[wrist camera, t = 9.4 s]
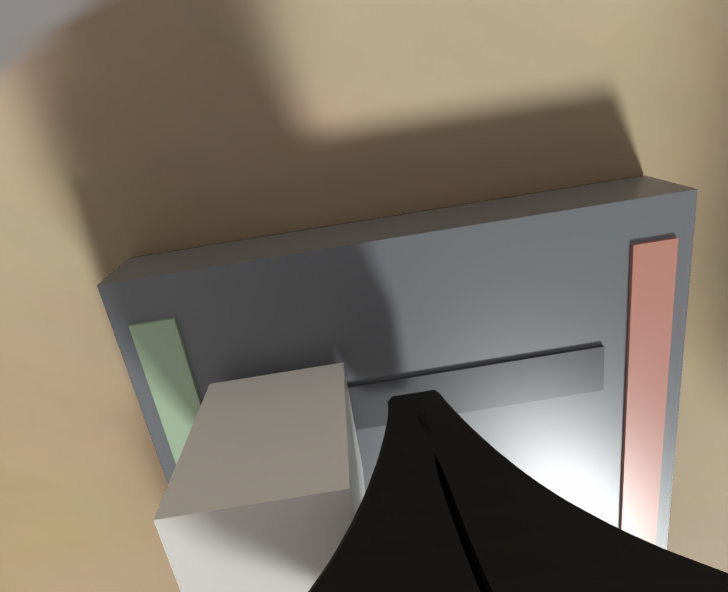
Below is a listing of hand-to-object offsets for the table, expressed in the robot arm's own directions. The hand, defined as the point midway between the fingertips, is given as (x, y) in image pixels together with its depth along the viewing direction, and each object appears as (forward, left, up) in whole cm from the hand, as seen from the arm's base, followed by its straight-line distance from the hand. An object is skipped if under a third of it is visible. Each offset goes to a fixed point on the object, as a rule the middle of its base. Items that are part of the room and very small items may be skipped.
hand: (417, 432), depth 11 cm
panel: (0, +9, -3) cm, 10 cm away
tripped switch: (+3, 0, -1) cm, 3 cm away
